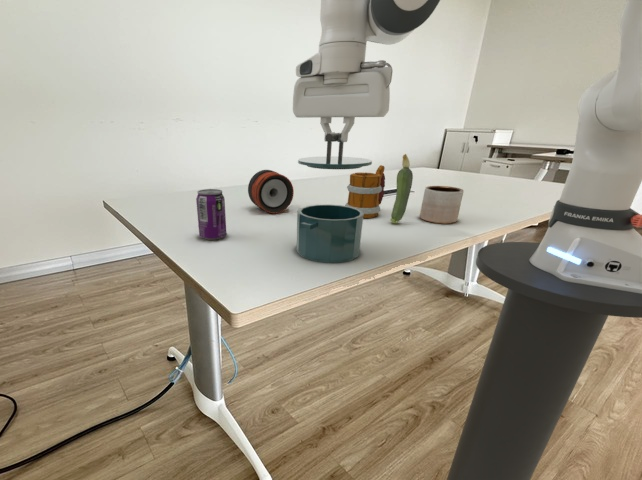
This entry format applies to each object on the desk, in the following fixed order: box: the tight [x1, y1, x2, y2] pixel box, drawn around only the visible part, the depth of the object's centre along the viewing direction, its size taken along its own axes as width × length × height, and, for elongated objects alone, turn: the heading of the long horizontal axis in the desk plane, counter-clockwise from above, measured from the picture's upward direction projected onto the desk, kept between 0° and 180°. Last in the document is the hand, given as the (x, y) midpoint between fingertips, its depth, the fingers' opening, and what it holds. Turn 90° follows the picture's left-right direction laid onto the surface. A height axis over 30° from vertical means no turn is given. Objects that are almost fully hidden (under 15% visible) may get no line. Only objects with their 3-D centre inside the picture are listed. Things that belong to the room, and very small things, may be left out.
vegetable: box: [390, 153, 414, 225], centre depth 99 cm, size 4×4×20 cm
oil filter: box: [247, 169, 294, 214], centre depth 116 cm, size 13×12×13 cm
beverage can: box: [195, 188, 227, 241], centre depth 88 cm, size 7×7×12 cm
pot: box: [295, 204, 364, 264], centre depth 80 cm, size 15×20×10 cm
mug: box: [344, 164, 386, 219], centre depth 112 cm, size 11×16×15 cm, turn 131°
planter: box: [419, 185, 465, 225], centre depth 106 cm, size 11×11×10 cm
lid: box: [297, 132, 373, 170], centre depth 72 cm, size 16×16×6 cm
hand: (335, 141), depth 72 cm, fingers closed on lid
